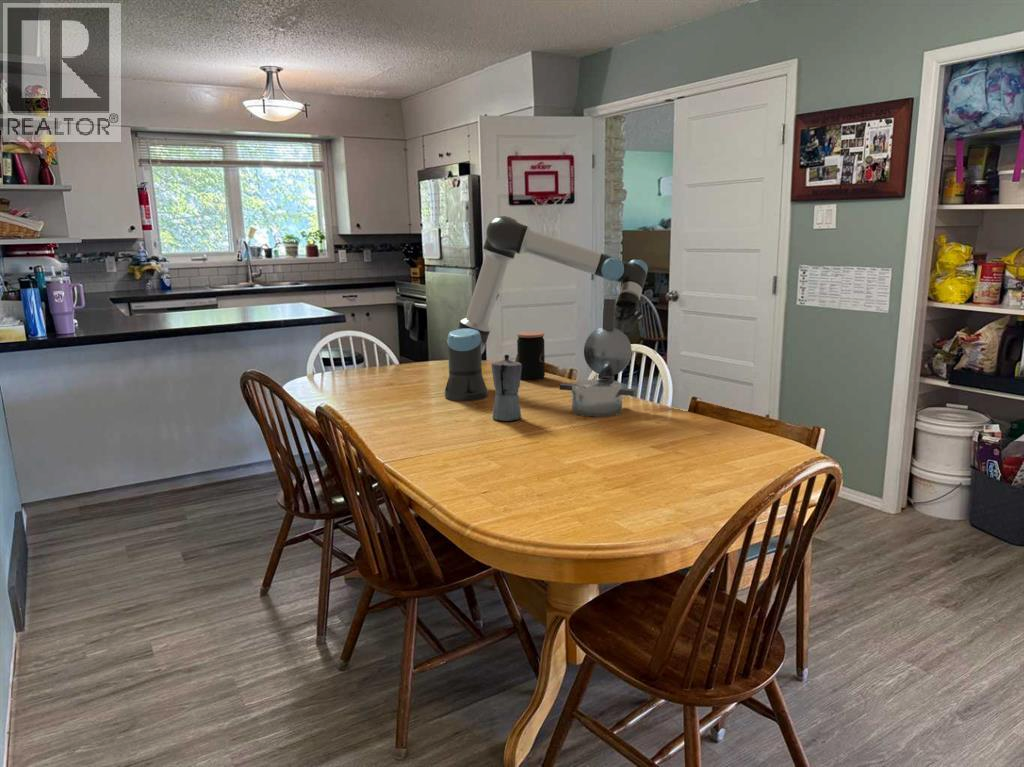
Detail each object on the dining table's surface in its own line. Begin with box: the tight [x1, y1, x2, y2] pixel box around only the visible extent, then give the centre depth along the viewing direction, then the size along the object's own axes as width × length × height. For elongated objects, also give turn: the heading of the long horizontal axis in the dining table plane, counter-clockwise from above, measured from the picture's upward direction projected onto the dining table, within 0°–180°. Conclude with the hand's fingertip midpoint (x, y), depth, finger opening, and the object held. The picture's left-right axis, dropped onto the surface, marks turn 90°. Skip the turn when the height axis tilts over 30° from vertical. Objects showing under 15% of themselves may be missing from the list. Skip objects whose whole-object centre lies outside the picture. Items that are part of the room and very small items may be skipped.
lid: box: [583, 298, 632, 381], centre depth 227 cm, size 16×26×2 cm
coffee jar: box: [516, 331, 546, 381], centre depth 274 cm, size 11×11×18 cm
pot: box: [558, 378, 637, 418], centre depth 223 cm, size 25×18×9 cm
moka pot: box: [491, 354, 522, 422], centre depth 213 cm, size 10×15×20 cm, turn 174°
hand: (613, 352), depth 233 cm, fingers closed
